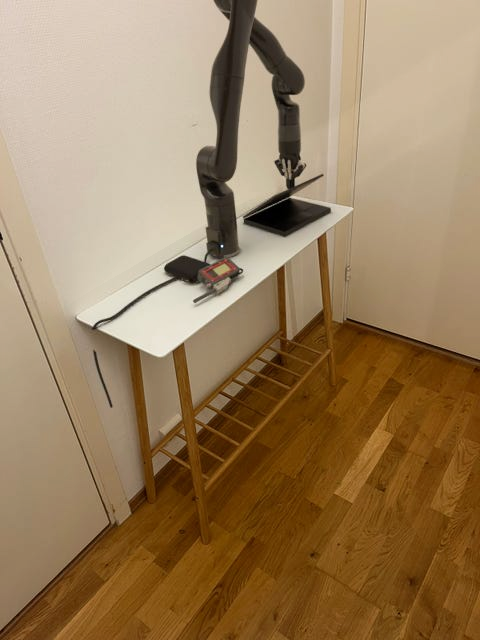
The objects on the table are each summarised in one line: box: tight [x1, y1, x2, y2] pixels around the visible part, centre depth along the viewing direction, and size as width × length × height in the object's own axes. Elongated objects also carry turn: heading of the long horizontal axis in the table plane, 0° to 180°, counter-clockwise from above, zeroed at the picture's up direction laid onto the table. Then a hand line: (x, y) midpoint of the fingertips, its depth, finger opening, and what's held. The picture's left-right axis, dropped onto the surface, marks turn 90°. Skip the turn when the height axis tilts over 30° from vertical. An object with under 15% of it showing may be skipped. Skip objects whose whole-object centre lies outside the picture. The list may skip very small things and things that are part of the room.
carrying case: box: [163, 255, 211, 284], centre depth 137 cm, size 11×3×15 cm
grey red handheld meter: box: [192, 257, 244, 304], centre depth 128 cm, size 9×4×20 cm
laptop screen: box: [242, 173, 325, 220], centre depth 163 cm, size 20×26×1 cm
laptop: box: [243, 197, 332, 238], centre depth 166 cm, size 20×26×2 cm
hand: (290, 188), depth 159 cm, fingers closed
